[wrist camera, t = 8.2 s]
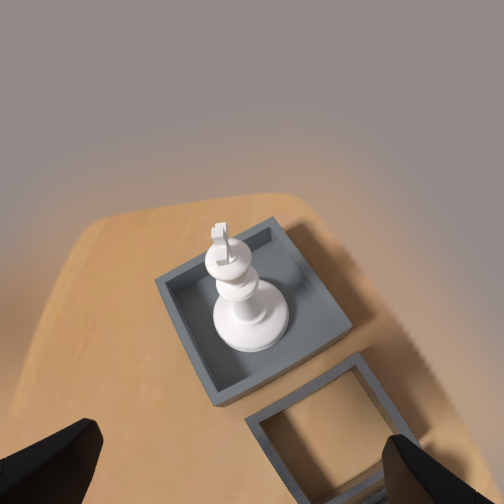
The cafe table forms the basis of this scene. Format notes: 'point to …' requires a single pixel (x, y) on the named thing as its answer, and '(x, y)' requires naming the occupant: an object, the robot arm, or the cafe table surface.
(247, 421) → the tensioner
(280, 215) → the cafe table surface
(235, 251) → the chess piece
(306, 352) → the tray
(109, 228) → the cafe table surface
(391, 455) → the robot arm
